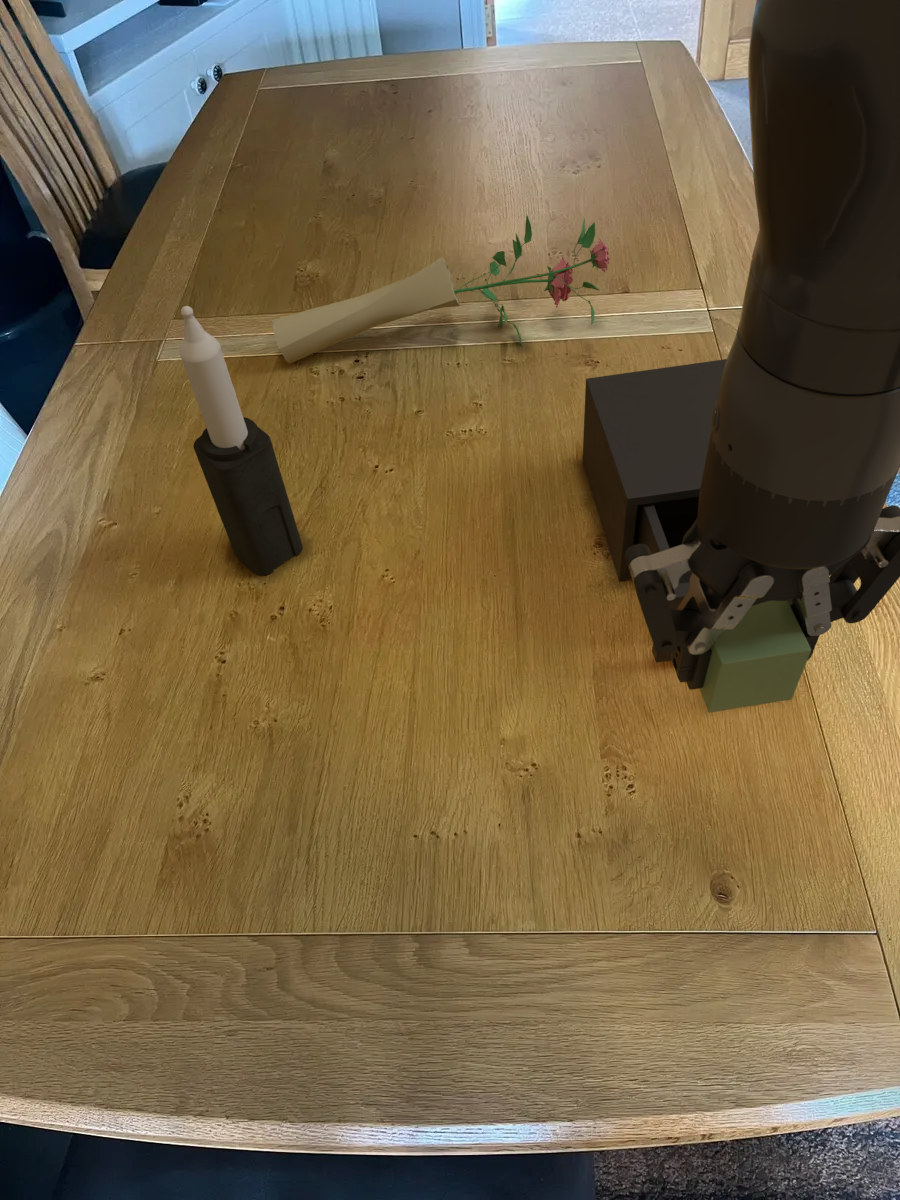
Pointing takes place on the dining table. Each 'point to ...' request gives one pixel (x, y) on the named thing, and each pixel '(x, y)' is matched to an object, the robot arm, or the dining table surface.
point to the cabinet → (646, 443)
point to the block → (756, 659)
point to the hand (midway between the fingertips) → (737, 667)
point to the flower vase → (418, 300)
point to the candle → (237, 460)
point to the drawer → (667, 539)
